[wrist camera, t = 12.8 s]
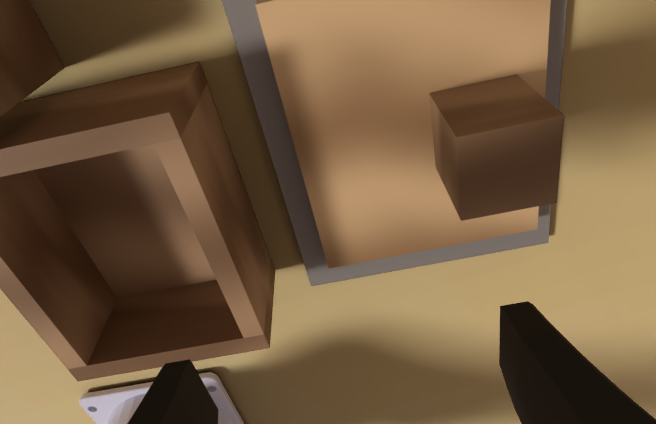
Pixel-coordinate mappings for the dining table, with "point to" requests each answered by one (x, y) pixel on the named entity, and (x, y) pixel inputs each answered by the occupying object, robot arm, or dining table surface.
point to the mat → (289, 173)
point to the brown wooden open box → (124, 215)
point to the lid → (416, 119)
